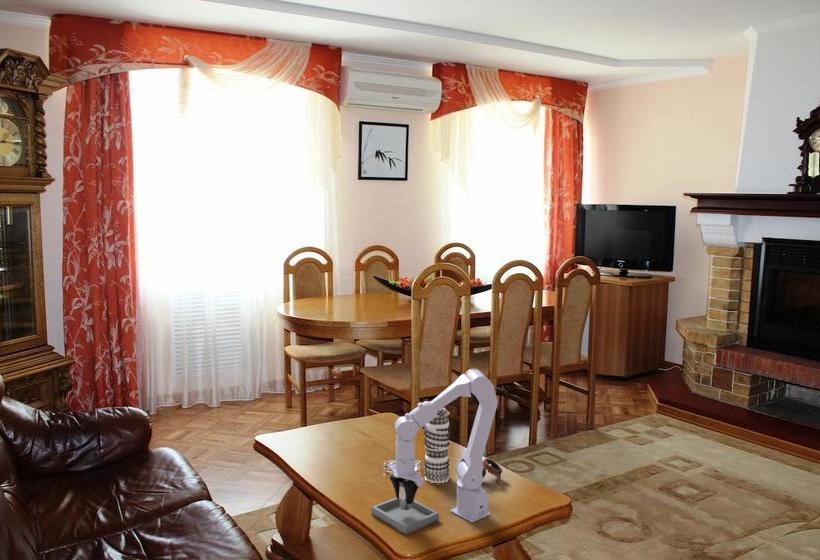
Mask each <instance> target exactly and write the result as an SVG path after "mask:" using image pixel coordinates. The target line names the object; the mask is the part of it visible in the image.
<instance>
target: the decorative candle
mask: <svg viewBox="0 0 820 560" xmlns="http://www.w3.org/2000/svg"><path fill="white" fill-rule="evenodd" d="M449 415H450V411H448V409H446V407H445V406H444V407H443V408H441V409H440V410H438V412H437V416H436V418H434V419H433V420H432V421H430V422H429V423H428V424H426V425H425V426H424V427H423V430H424V431H423V435H424V438H423V439H424V443H423V445H424V447H425V456H424V457H425V458H423V459H424V464H423V465H424V469H423V471H424V473H423V476H424V478H425V480H427V481H429V482H431V483H443V484H445V483H444V482H446V483H448V482H449V481H448V480H450V478H449V476H450V468H449V467H450V459H449V448H450V445H451V444H450V441H449V440H451V437H450V436H451V432H450V431H451V429H452V427H451V425H450V424H451V423H450V421H449ZM425 480H424V481H425ZM431 483H430V484H431Z"/></svg>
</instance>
